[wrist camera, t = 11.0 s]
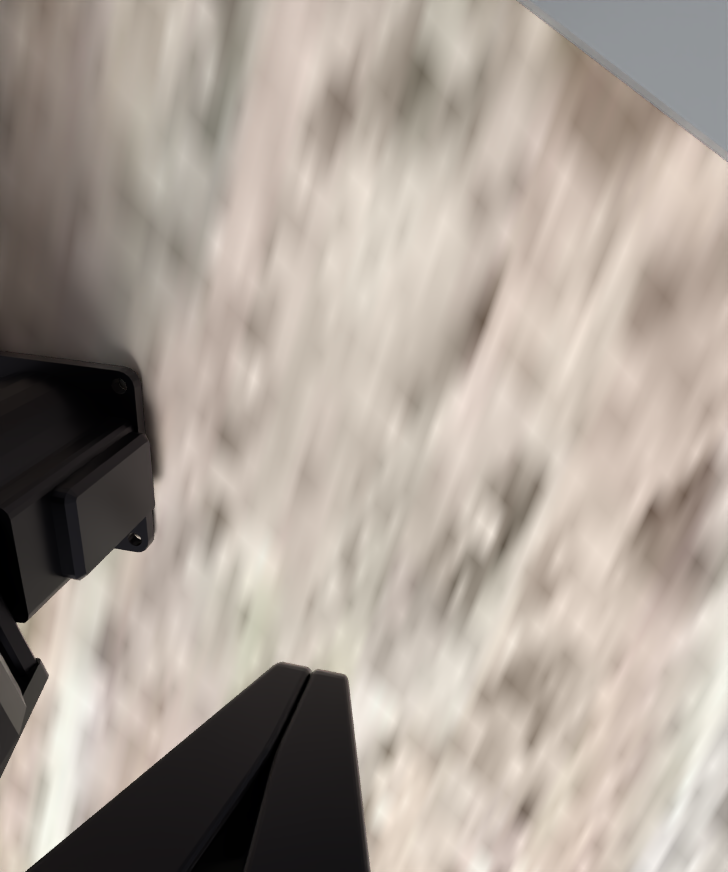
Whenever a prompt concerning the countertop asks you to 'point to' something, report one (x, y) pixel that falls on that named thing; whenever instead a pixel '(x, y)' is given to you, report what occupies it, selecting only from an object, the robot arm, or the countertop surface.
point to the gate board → (657, 54)
